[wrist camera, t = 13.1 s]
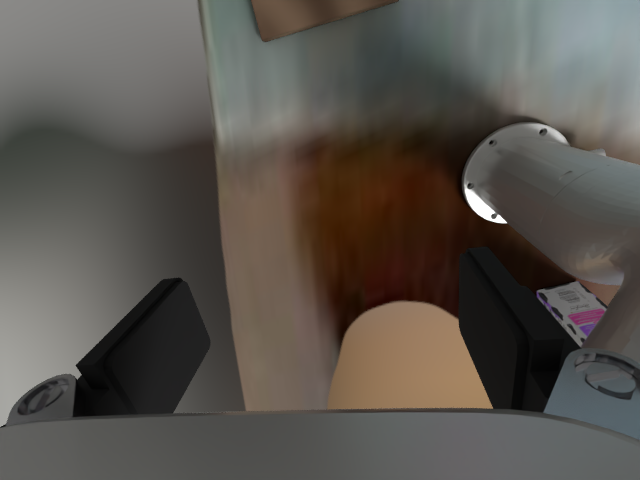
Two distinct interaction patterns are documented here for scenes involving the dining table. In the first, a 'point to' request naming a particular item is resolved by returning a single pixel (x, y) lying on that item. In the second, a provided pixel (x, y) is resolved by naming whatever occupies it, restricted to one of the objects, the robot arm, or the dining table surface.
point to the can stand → (305, 14)
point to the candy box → (573, 308)
